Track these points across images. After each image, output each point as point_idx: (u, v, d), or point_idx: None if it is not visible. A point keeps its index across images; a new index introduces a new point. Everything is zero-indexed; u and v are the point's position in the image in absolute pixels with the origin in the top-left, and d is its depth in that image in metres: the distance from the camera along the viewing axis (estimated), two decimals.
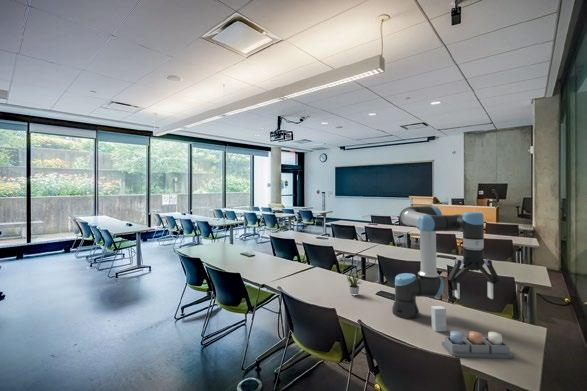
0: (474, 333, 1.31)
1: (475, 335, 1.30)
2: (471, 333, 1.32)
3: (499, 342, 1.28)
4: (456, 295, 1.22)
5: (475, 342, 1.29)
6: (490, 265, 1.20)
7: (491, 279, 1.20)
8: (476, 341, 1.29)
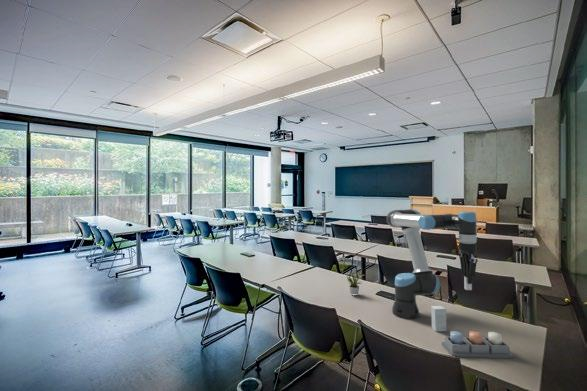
0: (474, 333, 1.31)
1: (475, 335, 1.30)
2: (471, 333, 1.32)
3: (499, 342, 1.28)
4: None
5: (475, 342, 1.29)
6: (470, 262, 1.38)
7: (466, 272, 1.41)
8: (476, 341, 1.29)
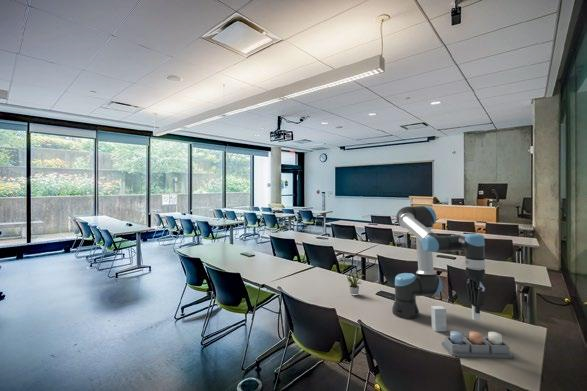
0: (474, 333, 1.31)
1: (475, 335, 1.30)
2: (471, 333, 1.32)
3: (499, 342, 1.28)
4: None
5: (475, 342, 1.29)
6: (478, 290, 1.26)
7: (474, 301, 1.29)
8: (476, 341, 1.29)
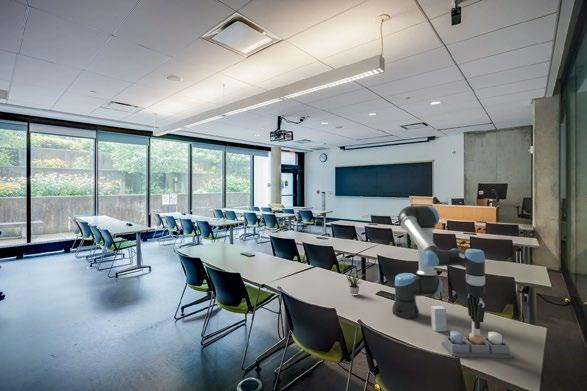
0: None
1: (475, 336, 1.30)
2: (471, 334, 1.32)
3: (499, 342, 1.28)
4: None
5: (475, 343, 1.29)
6: (478, 306, 1.26)
7: (474, 316, 1.30)
8: (476, 342, 1.29)
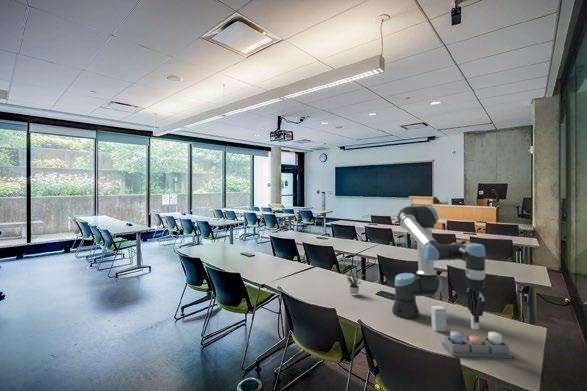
0: (474, 337, 1.32)
1: (475, 339, 1.30)
2: (471, 337, 1.32)
3: (499, 342, 1.28)
4: None
5: None
6: (478, 300, 1.26)
7: (473, 310, 1.30)
8: None
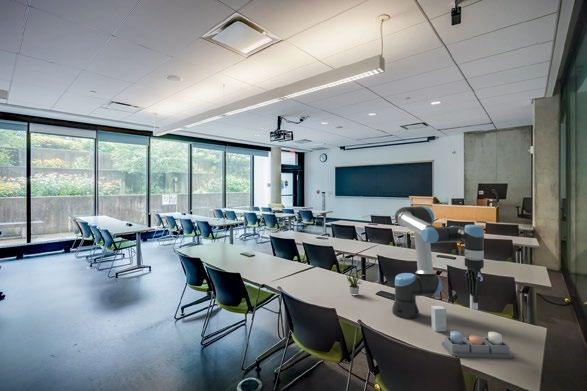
0: (474, 337, 1.32)
1: (475, 339, 1.30)
2: (471, 337, 1.32)
3: (499, 342, 1.28)
4: None
5: None
6: (477, 280, 1.28)
7: (472, 291, 1.31)
8: None
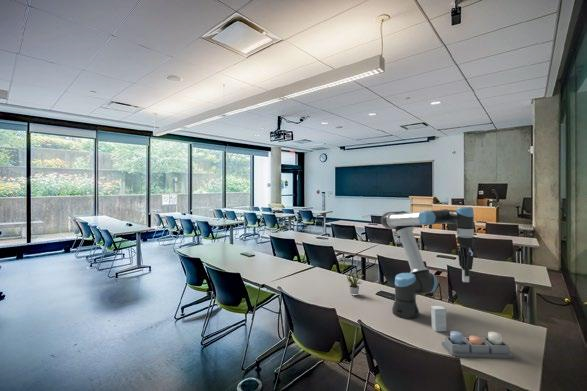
0: (474, 337, 1.32)
1: (475, 339, 1.30)
2: (471, 337, 1.32)
3: (499, 342, 1.28)
4: None
5: None
6: (468, 255, 1.43)
7: (464, 265, 1.47)
8: None
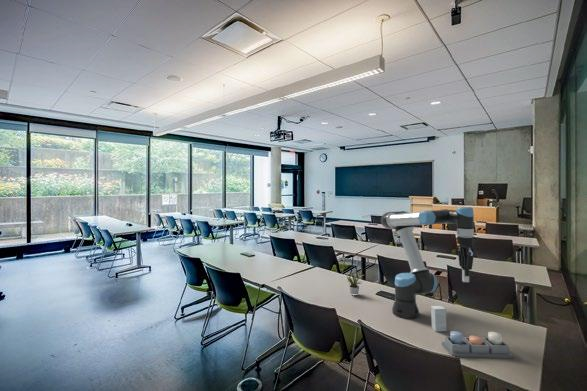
0: (474, 337, 1.32)
1: (475, 339, 1.30)
2: (471, 337, 1.32)
3: (499, 342, 1.28)
4: None
5: None
6: (468, 255, 1.44)
7: (464, 265, 1.47)
8: None
